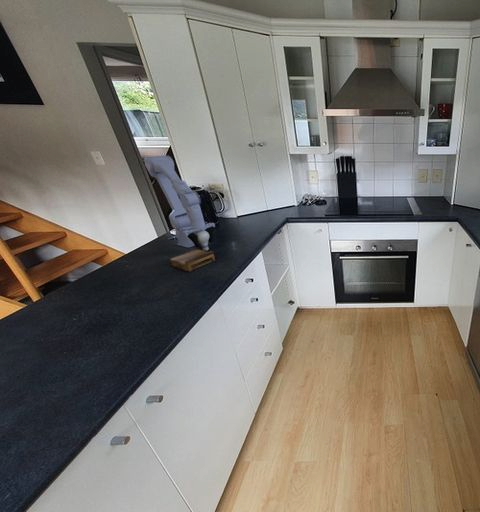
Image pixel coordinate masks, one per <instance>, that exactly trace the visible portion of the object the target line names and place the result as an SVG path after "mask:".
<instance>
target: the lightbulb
mask: <svg viewBox="0 0 480 512" xmlns="http://www.w3.org/2000/svg"><path fill="white" fill-rule="evenodd" d="M195 235H198V242H199V243H200V244H199V245H200V246H201V250H202V251H205V252H208V251H210V247H209V241H208V240H209V237H210V236H209V233H208V232H207V231H205V230H200V231H198V232H196V233H195Z"/></svg>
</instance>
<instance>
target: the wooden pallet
mask: <svg viewBox="0 0 480 512" xmlns="http://www.w3.org/2000/svg"><path fill="white" fill-rule="evenodd" d="M211 262H216V258H215V254H214V251H213V250H208V251H203V249H199V248H196V249H193V250H190V251H188V252H185V253H183V254H180V255H177V256H174V257H172V258H170V263H171V265H172V267H175V268H178V269H180V270H183V271H185V272H190V273H191V272H193V271H194V270H195V269H198V268H200V267H203V266H206V265H208V264H210V263H211Z"/></svg>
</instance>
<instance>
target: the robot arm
mask: <svg viewBox="0 0 480 512" xmlns="http://www.w3.org/2000/svg"><path fill="white" fill-rule="evenodd" d="M143 160H144V161H143V162H144V165H145V168H146V169H147V171H148V174H149V175H150V177H152V178H155V179H156V181H157V183H158V184H159V186H160V188H161V190H162V192H163V194H164V196H165V198H166V201H167V202H168V204H169V206H170V208H171V210H172V211H171V212H170V214H168V219H169V222H170V224H171V225H170V226H171V227H172V228H173V229H174V230H175V236H176V239H177V242H178V243H176V245H177V246H180V247H184V248H187V249H188V248H192V247H195V248H197V249H199V248H201V247H200V246H201V245H200V243H199V242H198V235H195V233H196V232H198V231H200V230H205V231H207V232H208V233H209V236H210V237H209V240H208V243H213V241H214V239H213V238H214V237H213V236H214V232H215V228H216V225H215V224H216V223H214V222H209V223H206V222H205V219H204V215H203V212H202V209H201V204H202V199H201V197H200V195H199V193H198V192H197V191H195V190H192V189H191V187H190V186H189V185H188V183H187V182H186V181H185V180H183V179H181V178H180V177H179V175H178V174H177V172H176V170H175V161H174V160H173V158H172V157H171V156H170V155H168V154H167V155H159V156H145V158H144V159H143Z"/></svg>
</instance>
